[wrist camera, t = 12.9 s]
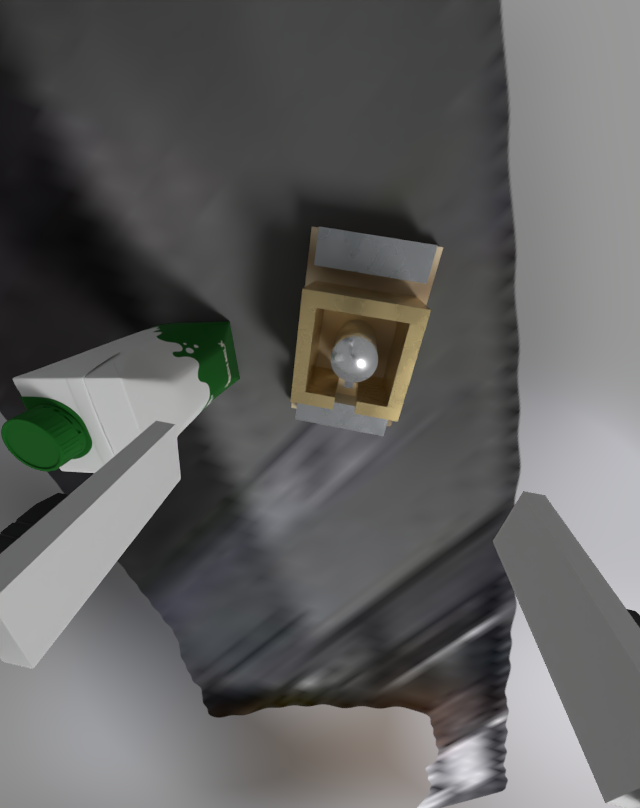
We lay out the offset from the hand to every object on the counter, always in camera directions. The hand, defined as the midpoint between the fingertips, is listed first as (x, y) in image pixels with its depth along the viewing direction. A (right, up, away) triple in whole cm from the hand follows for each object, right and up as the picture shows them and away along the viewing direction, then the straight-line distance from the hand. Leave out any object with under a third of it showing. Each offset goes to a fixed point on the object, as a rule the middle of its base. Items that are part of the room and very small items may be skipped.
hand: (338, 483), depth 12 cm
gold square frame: (+3, +10, +20) cm, 23 cm away
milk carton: (-14, +9, +25) cm, 30 cm away
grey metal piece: (+3, +10, +20) cm, 23 cm away
